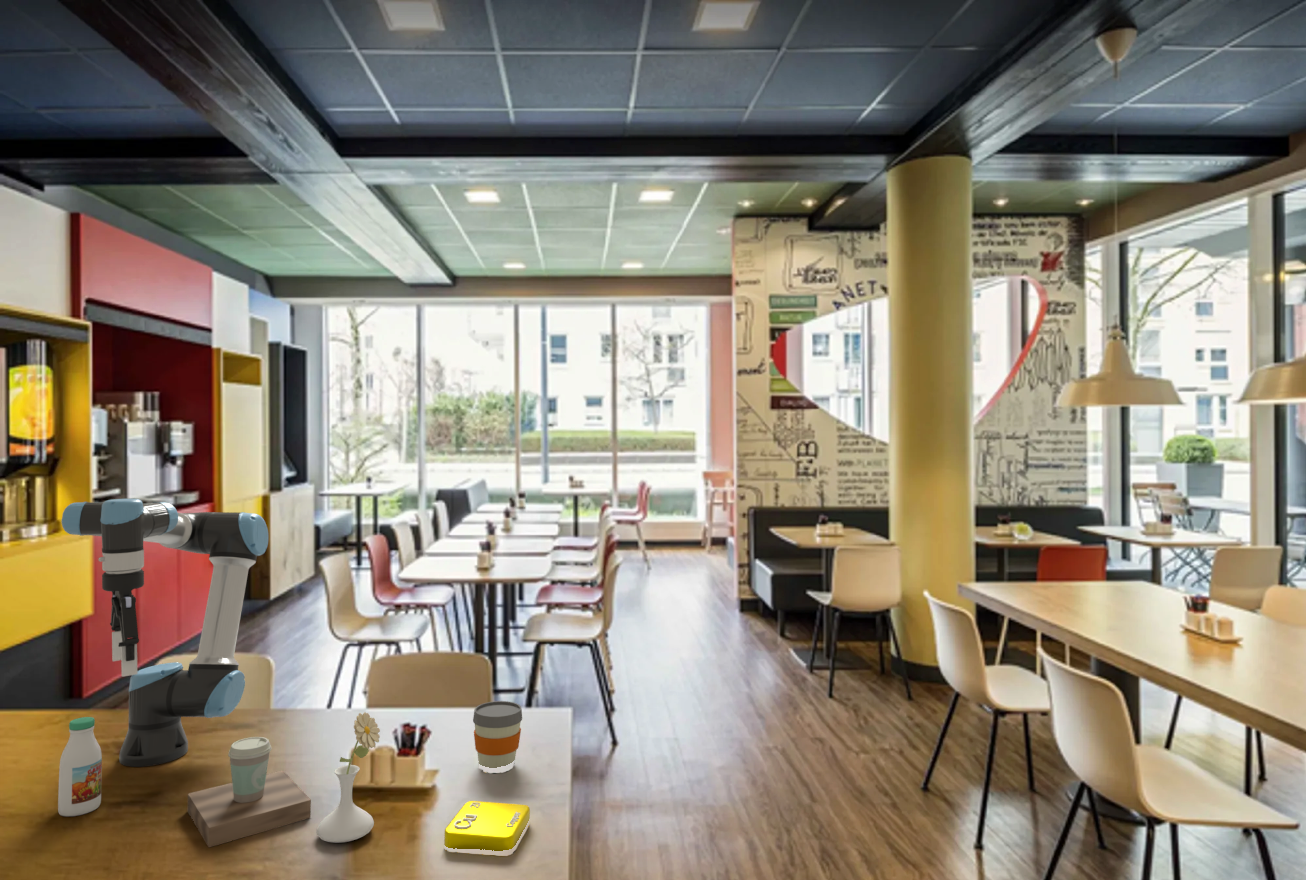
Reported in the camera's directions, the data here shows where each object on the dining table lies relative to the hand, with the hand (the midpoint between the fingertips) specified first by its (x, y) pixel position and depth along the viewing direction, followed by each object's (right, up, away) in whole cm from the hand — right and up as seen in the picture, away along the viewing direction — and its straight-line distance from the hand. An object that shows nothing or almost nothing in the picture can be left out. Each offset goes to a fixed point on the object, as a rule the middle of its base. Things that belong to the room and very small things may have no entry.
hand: (124, 667), depth 169 cm
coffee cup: (+25, -30, +4) cm, 39 cm away
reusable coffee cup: (+75, -35, +32) cm, 89 cm away
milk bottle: (-13, -33, +4) cm, 36 cm away
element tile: (+80, -36, -3) cm, 88 cm away
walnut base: (+25, -34, +4) cm, 42 cm away
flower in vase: (+50, -35, -3) cm, 61 cm away
